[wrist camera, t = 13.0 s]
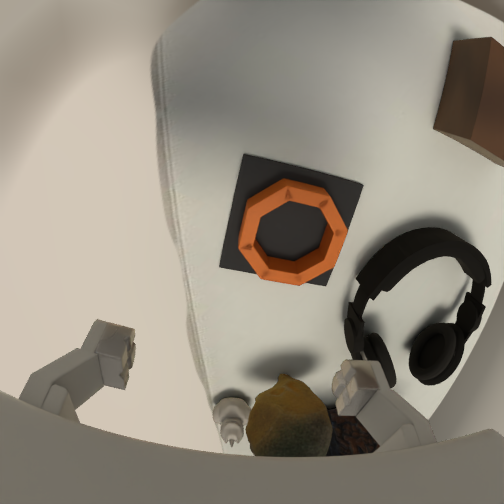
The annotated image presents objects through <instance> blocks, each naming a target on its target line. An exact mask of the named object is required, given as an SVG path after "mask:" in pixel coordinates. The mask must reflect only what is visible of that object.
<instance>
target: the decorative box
mask: <svg viewBox="0 0 504 504" xmlns="http://www.w3.org/2000/svg"><path fill="white" fill-rule="evenodd" d="M327 412H328V416H329V419H330V422H331V425H332V437H331V441H330V445H329V448H328V451H327V454H326V456H325V457H329V456H346V455H358V454H368V453H373V452H374V451H375V450H377V449H378V448H379V447H380V445H379V444H378V443H377V442H376V440H375V439H374V438H373V437H372V436H371V434H370V433H369V432H368V431H367V429H366V428H365V427H364V426H363V425H362V423H361V422H360V421H359V420H358V419H357V417H356V416H338V412H337V408H336V409H331V410H327Z"/></svg>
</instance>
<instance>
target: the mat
mask: <svg viewBox="0 0 504 504" xmlns="http://www.w3.org/2000/svg"><path fill="white" fill-rule="evenodd" d="M283 178H285V179H289V180H294V181H298V182H302V183H306V184H310V185H314V186H318V187H321V188H324V189H325V190H326V192H327V193H328V194H329V195H330V197H331V199H332V201H333V202H334V204H335V206H336V208H337V210H338V212H339V214H340V216H341V218H342V220H343V222H344V224H345V226H346V228H347V230H348V228H349V226H350V223H351V220H352V217H353V215H354V212H355V209H356V206H357V203H358V200H359V197H360V194H361V191H362V189H363V185H362V184H360V183H356V182H353V181H350V180H346V179H343V178H339V177H335V176H332V175H328V174H324V173H321V172H317V171H313V170H309V169H305V168H302V167H298V166H293V165H289V164H285V163H281V162H277V161H273V160H268V159H264V158H259V157H255V156H250V155H245V154H244V155H243V159H242V163H241V168H240V172H239V177H238V181H237V185H236V190H235V195H234V199H233V204H232V208H231V213H230V218H229V222H228V227H227V232H226V236H225V241H224V246H223V251H222V256H221V260H220V265H219V267H221V268H226V269H232V270H237V271H243V272H248V273H253V274H257V273H256V272H255V271H254V269H253V268H252V266H251V265H250V264H249V262H248V261H247V260H246V258H245V257H244V256H243V254H242V253H241V251H240V250H239V249H238V240H239V233H240V228H241V224H242V220H243V216H244V211H245V207H246V203H247V200H248V199H249V198H251V197H253V196H254V195H256V194H258V193H259V192H261V191H263V190H264V189H266V188H268V187H269V186H271V185H273V184H274V183H276V182H278V181H280V180H281V179H283ZM326 226H327V221H326V219H325V217H324V216H323V214H322V212H321V210H320V208H318V207H314V206H310V205H306V204H301V203H297V202H293V201H288V202H286V203H284V204H283V205H281V206H279V207H277V208H276V209H274V210H272V211H270V212H269V213H267V214H265V215H264V216H262V217H261V218H260V222H259V226H258V230H257V233H256V237H255V239H256V240H257V242H258V243H259V245H260V246H261V247H262V249H263V250H264V252H265V253H266V255H267V256H269V257H274V258H279V259H285V260H290V261H296V260H298V259H300V258H301V257H303V256H305V255H307V254H309V253H311V252H312V251H314V250H316V249H318V248H319V246H320V243H321V240H322V237H323V235H324V232H325V229H326ZM333 268H334V267H333ZM333 268H332V269H330V270H328V271H326V272H324V273H322V274H320V275H319V276H317V277H315V278H313V279H311V280H309V281H307V282H305V283H310V284H316V285H322V286H326V285H327V283H328V280H329V278H330V275H331V273H332V270H333Z"/></svg>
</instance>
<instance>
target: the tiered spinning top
mask: <svg viewBox="0 0 504 504" xmlns="http://www.w3.org/2000/svg"><path fill="white" fill-rule="evenodd" d="M250 411H251V408H250V407H249V406H248V405H247V404H246V402H245V401H244V400H242V399H240V398H233V397H229V398H224V399H222V400H220V402H219V403H218V404H217V405H216V406H215V407H214V410H213V420H214V422H215V423H218V424H220V425H221V432H220V434H221V437H222V438H223V440H224V441H225V443H227V441H230V445H231V447H232V446H233V444H234V441H236V442H237V444H238V443H239V442H240V440H241V439H242V437H243V435H244V428H243V426H244V425H247V423H248V418H249V414H250Z"/></svg>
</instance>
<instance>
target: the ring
mask: <svg viewBox="0 0 504 504" xmlns="http://www.w3.org/2000/svg"><path fill="white" fill-rule="evenodd" d="M288 201H293V202H297V203H301V204H306V205H310V206H314V207H318V208H320V210H321V212H322V214H323V216H324V217H325V219H326V221H327V226H326V229H325V232H324V235H323V237H322V240H321V243H320V246H319V248H318V249H316V250H314V251H312V252H311V253H309V254H307V255H305V256H303V257H301V258H300V259H298V260H296V261H290V260H285V259H279V258H274V257H269V256H267V255H266V253H265V252H264V250H263V249H262V247H261V246H260V245H259V243H258V242H257V240H256V239H255V237H256V233H257V230H258V226H259V222H260V218H261V217H262V216H264V215H265V214H267V213H269V212H270V211H272V210H274V209H276V208H277V207H279V206H281V205H283V204H284V203H286V202H288ZM347 232H348V230H347V228H346V226H345V224H344V222H343V220H342V218H341V216H340V214H339V212H338V210H337V208H336V206H335V204H334V202H333V201H332V199H331V197H330V195H329V194H328V193H327V192H326V190H325V189H324V188H321V187H318V186H314V185H310V184H306V183H302V182H298V181H294V180H289V179H285V178H283V179H281V180H280V181H278V182H276V183H274V184H273V185H271V186H269V187H268V188H266V189H264V190H263V191H261V192H259V193H258V194H256V195H254V196H253V197H251V198H249V199H248V200H247V203H246V207H245V211H244V216H243V220H242V224H241V228H240V233H239V240H238V249H239V250H240V251H241V253H242V254H243V256H244V257H245V258H246V260H247V261H248V262H249V264H250V265H251V266H252V268H253V269H254V271H255V272H256V273H257V275H258V276H259V277H260V279H264V280H270V281H275V282H281V283H287V284H292V285H298V286H300V285H302V284H304V283H305V282H307V281H309V280H311V279H313V278H315V277H317V276H319V275H320V274H322V273H324V272H326V271H328V270H330V269H332V268H333V267H334V266H335V264H336V261H337V259H338V256H339V253H340V251H341V248H342V246H343V243H344V240H345V238H346V235H347Z"/></svg>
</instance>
